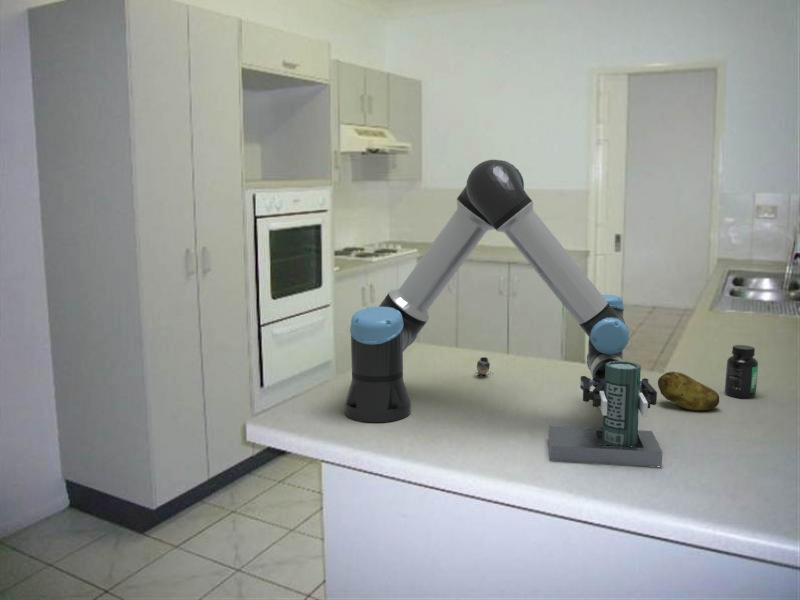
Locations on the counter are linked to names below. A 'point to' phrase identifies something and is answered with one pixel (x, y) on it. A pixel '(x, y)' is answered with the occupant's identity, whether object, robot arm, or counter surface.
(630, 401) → the can
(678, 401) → the potato
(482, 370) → the vase
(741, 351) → the supplement bottle
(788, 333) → the counter surface
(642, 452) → the grey slab with hole
